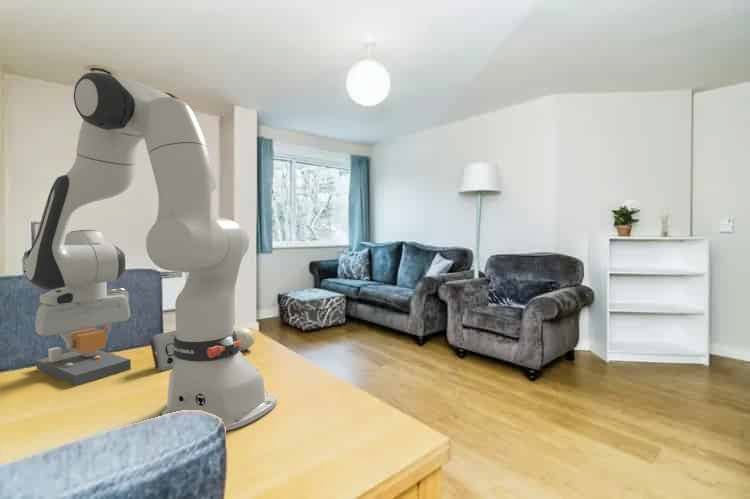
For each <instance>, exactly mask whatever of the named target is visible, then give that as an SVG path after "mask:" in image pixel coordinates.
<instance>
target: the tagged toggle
mask: <svg viewBox="0 0 750 499" xmlns="http://www.w3.org/2000/svg"><path fill="white" fill-rule="evenodd" d="M93 355H95V350H93V351H89V352H85V353H82V356H84V357H89V356H93Z"/></svg>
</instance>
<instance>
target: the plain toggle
mask: <svg viewBox="0 0 750 499" xmlns="http://www.w3.org/2000/svg"><path fill="white" fill-rule="evenodd" d="M47 349H48V354H47V355H48V358H49V361H50V362H56V361H60V360H62V354H63V352H62V351H63V350H62V349H63V348H62V347H59V346H56V347H53V348H47Z"/></svg>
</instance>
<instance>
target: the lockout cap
mask: <svg viewBox="0 0 750 499" xmlns="http://www.w3.org/2000/svg"><path fill="white" fill-rule="evenodd" d="M68 337H69V338H70V339H71V340H74V341H76V348H72V349H68V350H69V351H70V352H72V351H74V352H77V353H80V354H81V353H85V352H89V351H93V350H101V349H105V348H106V347H107V343H106V342H107V341H106V333H105V331H104V330H103V329H100V328H96V327H91V328H86V329H81V330H76V331H71V336H68Z"/></svg>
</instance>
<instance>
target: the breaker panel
mask: <svg viewBox="0 0 750 499" xmlns="http://www.w3.org/2000/svg"><path fill="white" fill-rule="evenodd" d="M131 361H132V360H131V358H126V357H124V356H120V355H117V354H114V353H111V352H107V351H104V350H101V349H98V350H95V355H93V356H89V357H84V356H82V353H81V354H80V353H77V352H74V351H68V352H66V353H65V352H64V353H62V360H60V361H56V362H50V361H49V358H48V357H43V358H39V359H36V370H37V369H39V370H40V371H39V370H38V371H39V372H41V371H42V373H45V374H47V375H49V376H51V377H54V378H57V379H58V380H60V381H63V382H65V383H68V384H71V385H72V386H75V387H77V386H80V385H85V384H86V383H87V384H88V383H89V382H93V381H96V380H99V379H100V380H101V379H103V378H107V377H110V376H113V375H117V374H120V373H123V372H126V371H130V370H131V369H132V365H131V363H132V362H131Z"/></svg>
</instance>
